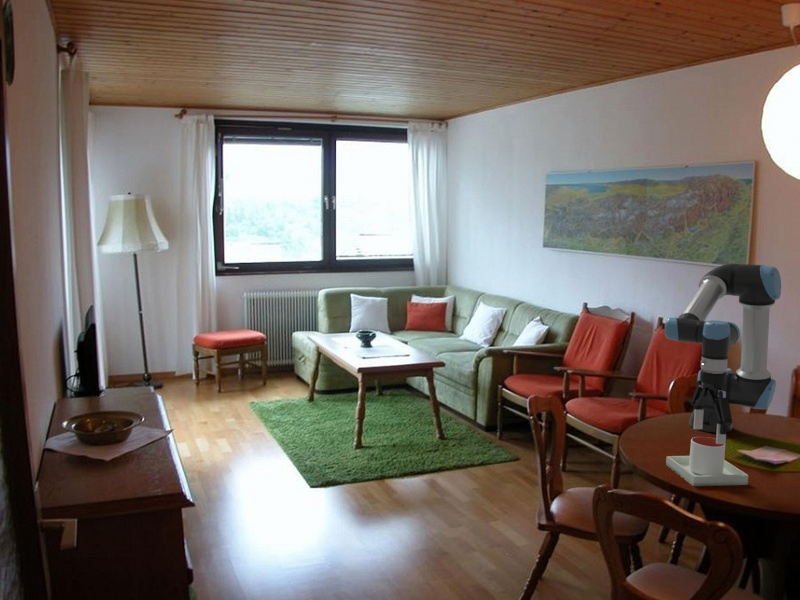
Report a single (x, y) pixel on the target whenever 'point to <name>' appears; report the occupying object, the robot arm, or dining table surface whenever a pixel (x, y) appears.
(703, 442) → the cup
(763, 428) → the dining table surface
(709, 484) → the tray
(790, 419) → the dining table surface
